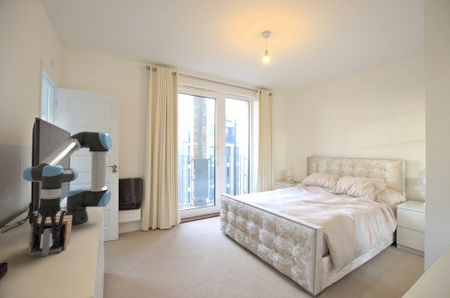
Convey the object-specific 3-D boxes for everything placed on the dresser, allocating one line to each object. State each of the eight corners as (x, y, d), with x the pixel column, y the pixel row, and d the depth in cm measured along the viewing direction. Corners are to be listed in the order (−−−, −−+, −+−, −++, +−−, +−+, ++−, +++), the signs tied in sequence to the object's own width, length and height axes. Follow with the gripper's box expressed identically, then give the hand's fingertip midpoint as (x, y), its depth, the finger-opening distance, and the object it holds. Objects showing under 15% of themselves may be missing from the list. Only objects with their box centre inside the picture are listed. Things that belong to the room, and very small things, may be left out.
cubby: (36, 245, 103) (39, 217, 103) (70, 241, 110) (72, 214, 110) (28, 255, 93) (30, 224, 94) (65, 249, 100) (68, 220, 101)
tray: (39, 245, 103) (41, 222, 103) (66, 242, 108) (68, 220, 109) (29, 258, 91) (31, 231, 91) (59, 253, 96) (61, 228, 96)
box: (38, 250, 96) (40, 228, 97) (42, 245, 101) (44, 224, 102) (58, 247, 100) (60, 226, 101) (61, 243, 105) (63, 223, 105)
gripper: (25, 199, 88) (20, 253, 87) (69, 198, 96) (64, 247, 95) (32, 196, 95) (27, 246, 94) (72, 195, 102) (68, 240, 101)
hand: (46, 246), depth 94 cm, fingers closed on tray, 2 cm apart
